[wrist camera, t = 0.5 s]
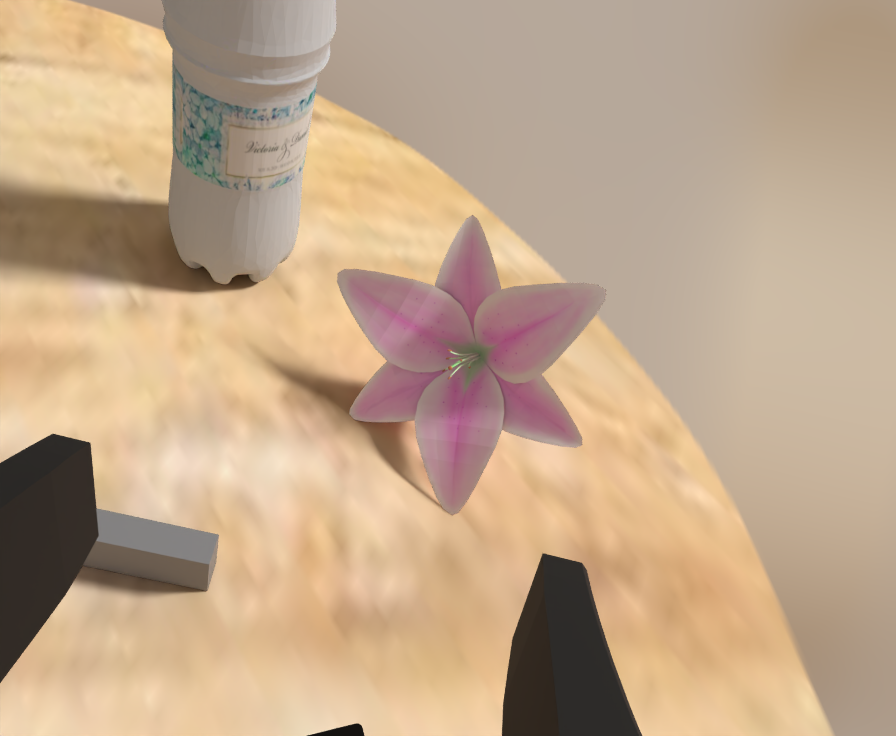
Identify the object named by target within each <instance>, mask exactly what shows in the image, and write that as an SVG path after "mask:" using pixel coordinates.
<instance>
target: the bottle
mask: <svg viewBox="0 0 896 736" xmlns="http://www.w3.org/2000/svg"><path fill="white" fill-rule="evenodd" d="M162 3H163V7H164V11H165V16H164V19H163V29H164V32H165V35H166V39H167V40H168V42H169V44H170V46H171V47H172V49H173V53H172V54H173V159H172V169H171V179H170V190H169V210H168V216H169V225H170V229H171V232H172V236H173V239H174V243H175V246H176V249H177V251H178V253H179V256H180V258H181V260H182V261H183V262H184V263H185V264H186V265H187V266H188V267H190V268H195V269H196V268H200V267H202V266H204V267H205V268H206V269H207V270H208V272H209V273H210V275H211V277H212V278H213V280H214V281H215V282H217V283H220V284H228V283H229V282H230V281H231V279H232V278H233V277H234V276H236V275H240V274H248V276H249V278H250V279H251V280H252V281H254V282H260V281H263V280H265V279H267V278H268V277H269V276H270V275H271V274H272V273H273V271H274V270H275V268H276V267H277V266H278V264H279V263H282V262H283V261H285V260H286V259H287V258H288V256H289V255H290V253H291V252H292V250H293V248H294V245H295V242H296V237H297V233H298V226H299V218H300V207H301V191H302V174H303V167H304V162H305V155H306V149H307V143H308V136H309V130H310V124H311V117H312V111H313V104H314V98H315V92H316V85H317V77H318V74H319V73H320V72H321V71H322V70H323V68H324V67H325V66H326V64H327V62H328V59H329V57H330V46H329V44H330V41H331V39H332V37H333V35H334V33H335V30H336V0H162Z"/></svg>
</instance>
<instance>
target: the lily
mask: <svg viewBox="0 0 896 736" xmlns="http://www.w3.org/2000/svg"><path fill="white" fill-rule="evenodd" d="M337 282H338V285H339V288H340V291H341V293H342V296H343V298H344V300H345V302H346V303H347V305H348V307H349V309H350V311H351V313H352V315H353V316H354V318H355V320H356V321H357V323H358V324H359V326H360V328H361V329H362V331H363V333H364V334H365V335H366V337H367V338H368V340H369V341H370V342H371V344H372V345H373V347H374V348H375V349H376V350H377V351H378V352H379V353H380V354H381V355H382V356H383V357H384V358H385V359H386V360H387V362H386V363H385V364H384V365H383V366H382V367H381V368H380V369H379V370H378V371H377V372H376V373H375V374H374V376H373V377H372V378H371V379H370V380H369V382H368V383H367V384H366V385H365V386H364V388H363V389H362V391H361V392H360V393H359V395H358V396H357V398H356V399H355V401H354V403H353V404H352V406H351V408H350V412H349V415H350V416H351V417H352V418H353V419H354V420H359V421H365V422H404V421H413V420H415V428H416V438H417V442H418V445H419V449H420V453H421V457H422V460H423V463H424V466H425V469H426V472H427V475H428V478H429V480H430V483H431V485H432V488H433V490H434V492H435V495H436V497H437V499H438V501H439V503H440V504H441V506H442V508H443V509H444V510H446V511H447V512H449V513H450V514H451V515H454V514H456V513H458V512H459V511H460V510H461V509H462V507H463V506H464V505H465V503H466V502H467V500H468V499H469V497H470V495H471V493H472V492H473V490H474V488H475V486H476V485H477V483H478V481H479V479H480V477H481V475H482V473H483V471H484V469H485V467H486V465H487V463H488V461H489V459H490V457H491V455H492V453H493V451H494V449H495V447H496V444H497V442H498V439H499V436H500V434H501V431H502V430H504V431H506V432H509V433H511V434H514V435H517V436H520V437H523V438H527V439H530V440H534V441H538V442H542V443H547V444H552V445H557V446H563V447H574V448H575V447H578V446H581V445H582V437H581V435H580V433H579V431H578V429H577V427H576V425H575V423H574V422H573V420H572V418H571V417H570V415H569V413H568V411H567V410H566V408H565V407H564V405H563V404H562V402H561V401H560V399H559V398H558V396H557V395H556V393H555V392H554V390H553V389H552V388H551V386H550V385H549V383H548V382H547V381H546V379H545V378H544V377H543V376H542V375H541V374H542V373H543V372H544V371H546V370H547V369H548V368H549V367H550V366H551V365H552V364H553V363H554V362H555V361H556V360H557V359H558V358H559V357H560V356H561V355H562V354H563V352H564V351H565V350H566V349H567V348H568V347H569V346H570V345H571V344H572V342H573V341H574V340H575V339H576V338H577V337H578V336H579V334H580V333H581V332H582V331H583V330H584V329H585V327H586V326H587V325H588V324H589V322H590V321H591V320H592V319H593V317H594V316H595V315H596V314H597V312H598V311H599V309H600V307H601V305H602V304H603V302H604V300H605V296H606V290H605V289H604V288H602V287H600V286H599V285H595V284H587V283H554V284H538V285H526V286H514V287H510V288H506V289H502V290H501V286H500V282H499V278H498V274H497V270H496V267H495V264H494V260H493V257H492V254H491V251H490V248H489V245H488V242H487V240H486V237H485V234H484V232H483V229H482V227H481V225H480V223H479V221H478V219H477V218H476V217H474V216H473V215H472V216H470V217H469V218H467V219H466V220H465V222H464V223H463V225H462V226H461V228H460V229H459V231H458V233H457V235H456V236H455V238H454V240H453V242H452V244H451V246H450V248H449V250H448V252H447V254H446V257H445V259H444V261H443V263H442V266H441V268H440V271H439V274H438V277H437V280H436V283H435V286H433V285H430V284H426V283H423V282H420V281H417V280H413V279H408V278H404V277H399V276H394V275H389V274H384V273H379V272H373V271H366V270H359V269H344V270H342V271H341V272H339V273H338V277H337Z"/></svg>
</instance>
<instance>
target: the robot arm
mask: <svg viewBox="0 0 896 736" xmlns="http://www.w3.org/2000/svg"><path fill="white" fill-rule="evenodd" d="M98 536H99V532H98V521H97V510H96V499H95V488H94V477H93V466H92V455H91V444H90V443H89V442H85V441H81V440H77V439H73V438H68V437H64V436H60V435H56V434H52V435H50V436H48V437H46V438H44V439H42V440H40V441H38V442H37V443H35V444H33V445H31V446H29V447H28V448H26V449H24V450H22V451H21V452H19V453H17V454H15V455H14V456H12V457H10V458H8V459H7V460H5V461H3V462H1V463H0V683H1V681H2V680H3V679H4V677H5V676H6V675H7V673H8V672H9V671H10V669H11V668H12V667H13V665H14V664H15V663H16V661H17V660H18V659H19V657H20V656H21V654H22V653H23V652H24V650H25V649H26V648H27V646H28V645H29V644H30V642H31V641H32V640H33V638H34V637H35V636H36V634H37V633H38V632H39V630H40V629H41V628H42V626H43V625H44V623H45V622H46V621H47V619H48V618H49V617H50V615H51V614H52V613H53V611H54V610H55V609H56V607H57V606H58V604H59V603H60V602H61V600H62V599H63V597H64V596H65V595H66V593H67V591H68V590H69V588H70V586H71V585H72V583H73V581H74V579H75V578H76V576H77V574H78V573H79V571H80V569H81V567H82V566H83V564H84V562H85V560H86V558H87V556H88V555H89V553H90V551H91V549H92V547H93V545H94V544H95V542H96V540H97V538H98ZM502 736H642V734H641V732H640V730H639V727H638V725H637V723H636V720H635V718H634V715H633V713H632V710H631V708H630V705H629V703H628V700H627V697H626V694H625V692H624V689H623V686H622V684H621V681H620V678H619V676H618V673H617V670H616V668H615V665H614V662H613V659H612V656H611V653H610V650H609V647H608V644H607V641H606V638H605V635H604V632H603V629H602V625H601V622H600V619H599V615H598V612H597V609H596V605H595V602H594V598H593V594H592V590H591V586H590V582H589V578H588V574H587V570H586V568H585V567H584V565H583V564H582V563H580V562H576V561H572V560H568V559H564V558H560V557H556V556H551V555H547V554H542V557H541V560H540V563H539V566H538V568H537V571H536V574H535V577H534V580H533V582H532V585H531V588H530V591H529V594H528V596H527V599H526V602H525V605H524V608H523V611H522V613H521V616H520V619H519V622H518V625H517V627H516V630H515V633H514V636H513V639H512V646H511V653H510V659H509V666H508V673H507V680H506V687H505V694H504V702H503V723H502Z"/></svg>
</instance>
